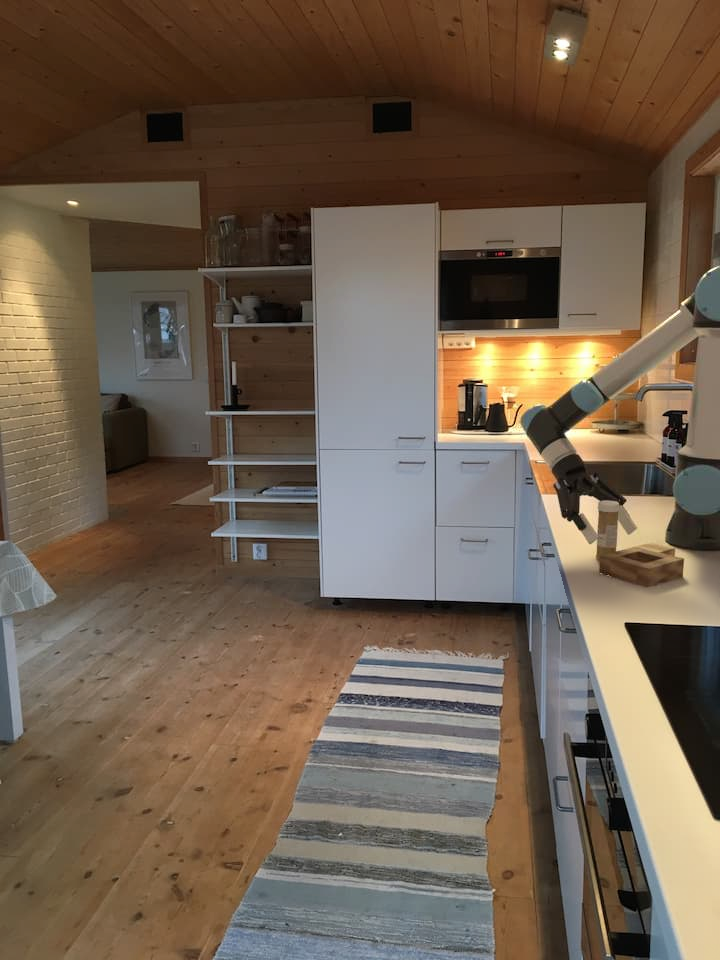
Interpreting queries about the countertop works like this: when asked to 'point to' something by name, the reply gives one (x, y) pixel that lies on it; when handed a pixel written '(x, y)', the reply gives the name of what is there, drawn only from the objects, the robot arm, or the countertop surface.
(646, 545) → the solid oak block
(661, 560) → the socket block
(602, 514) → the sprinkles bottle
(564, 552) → the countertop surface
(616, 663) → the countertop surface
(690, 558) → the countertop surface
